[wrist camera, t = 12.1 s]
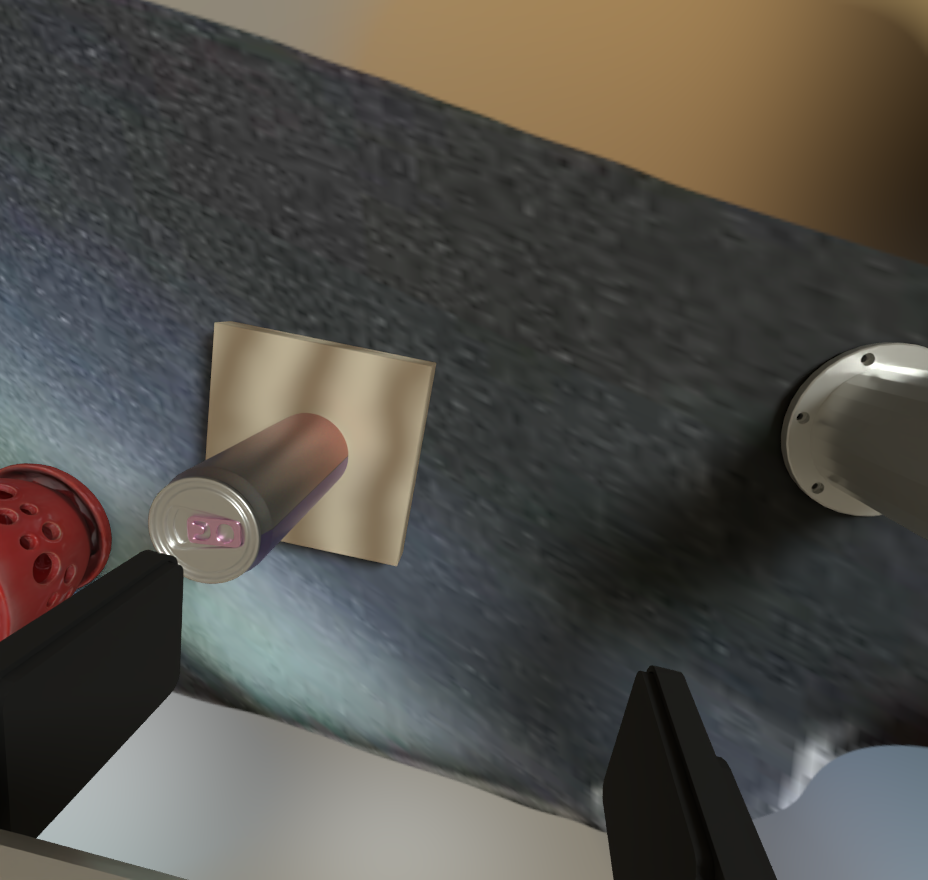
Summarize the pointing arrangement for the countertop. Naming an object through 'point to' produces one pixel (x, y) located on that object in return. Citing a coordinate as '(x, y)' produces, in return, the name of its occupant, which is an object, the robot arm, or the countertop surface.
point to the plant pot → (46, 541)
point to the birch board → (348, 407)
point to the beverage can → (246, 497)
